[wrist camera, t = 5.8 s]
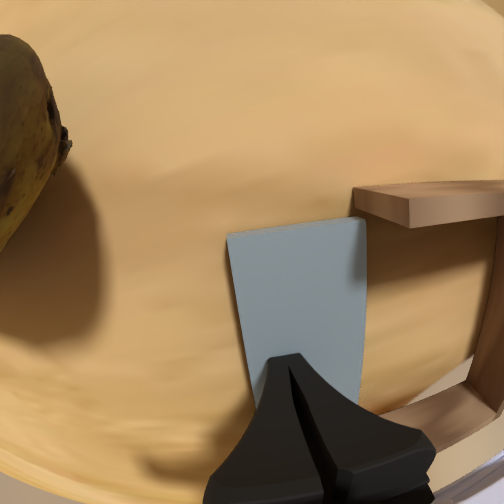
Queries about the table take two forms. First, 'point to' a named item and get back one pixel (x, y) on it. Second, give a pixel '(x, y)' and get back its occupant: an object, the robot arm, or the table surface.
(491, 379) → the crate
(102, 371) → the table surface
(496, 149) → the table surface
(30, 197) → the potato
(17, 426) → the table surface
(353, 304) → the flat gray panel
